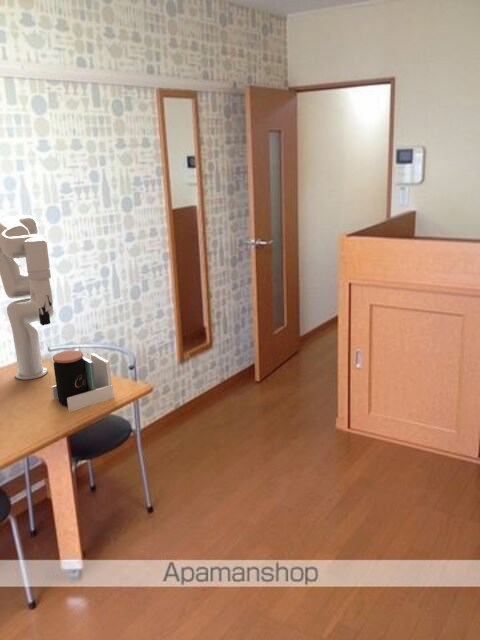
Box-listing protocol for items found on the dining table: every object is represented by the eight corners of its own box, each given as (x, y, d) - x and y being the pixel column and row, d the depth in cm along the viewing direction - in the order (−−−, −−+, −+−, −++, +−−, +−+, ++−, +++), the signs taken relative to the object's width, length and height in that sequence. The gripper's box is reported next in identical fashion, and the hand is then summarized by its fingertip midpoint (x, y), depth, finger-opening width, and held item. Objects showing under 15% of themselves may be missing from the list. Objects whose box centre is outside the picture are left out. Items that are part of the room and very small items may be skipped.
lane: (53, 398, 223) (48, 363, 219) (96, 386, 233) (92, 352, 229) (69, 411, 211) (64, 374, 207) (114, 397, 222) (110, 362, 218)
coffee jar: (81, 408, 214) (75, 361, 209) (53, 407, 216) (47, 360, 210) (93, 395, 224) (87, 350, 219) (66, 394, 226) (60, 350, 221)
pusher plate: (80, 391, 227) (75, 354, 223) (83, 390, 228) (78, 353, 224) (94, 401, 218) (89, 363, 214) (97, 400, 219) (92, 362, 215)
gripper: (21, 271, 212) (28, 321, 218) (35, 280, 201) (42, 331, 207) (42, 268, 216) (48, 316, 222) (57, 276, 205) (63, 327, 211)
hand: (45, 323), depth 214 cm, fingers closed
